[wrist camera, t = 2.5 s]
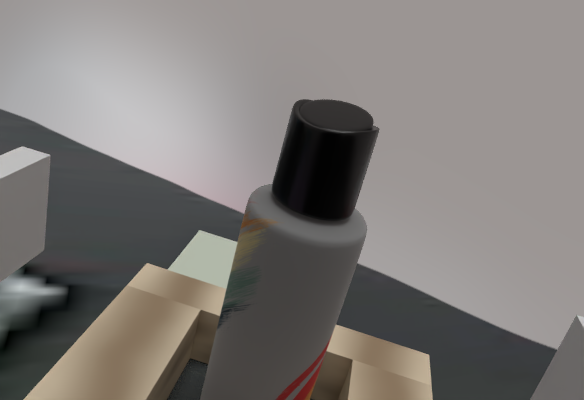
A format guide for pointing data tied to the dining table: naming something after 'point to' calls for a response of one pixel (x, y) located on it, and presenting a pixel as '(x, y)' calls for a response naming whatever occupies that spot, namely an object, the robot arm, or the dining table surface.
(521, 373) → the dining table surface
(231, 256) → the sage pad
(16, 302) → the dining table surface
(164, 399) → the holder block
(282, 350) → the lotion bottle
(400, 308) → the dining table surface
